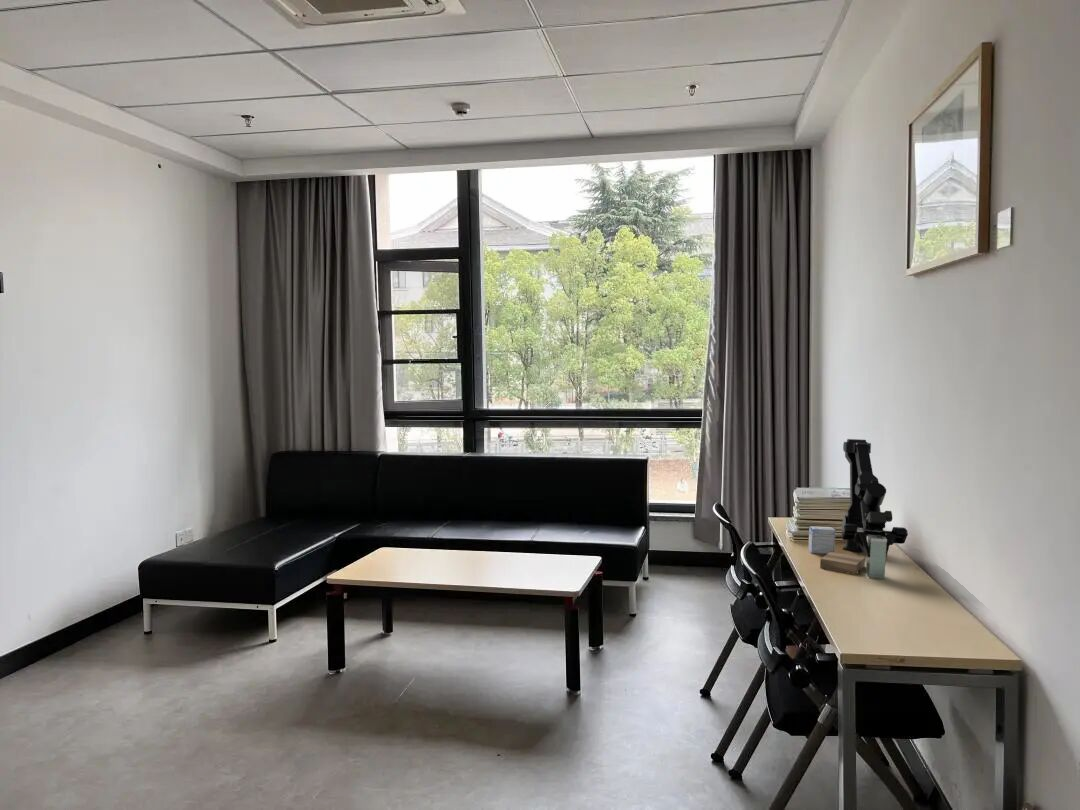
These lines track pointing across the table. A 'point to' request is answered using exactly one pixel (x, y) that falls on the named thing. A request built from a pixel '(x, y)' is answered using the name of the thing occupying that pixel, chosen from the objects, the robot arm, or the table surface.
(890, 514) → the robot arm
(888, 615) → the table surface
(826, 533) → the medicine box
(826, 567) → the plinth
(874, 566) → the tea tin
